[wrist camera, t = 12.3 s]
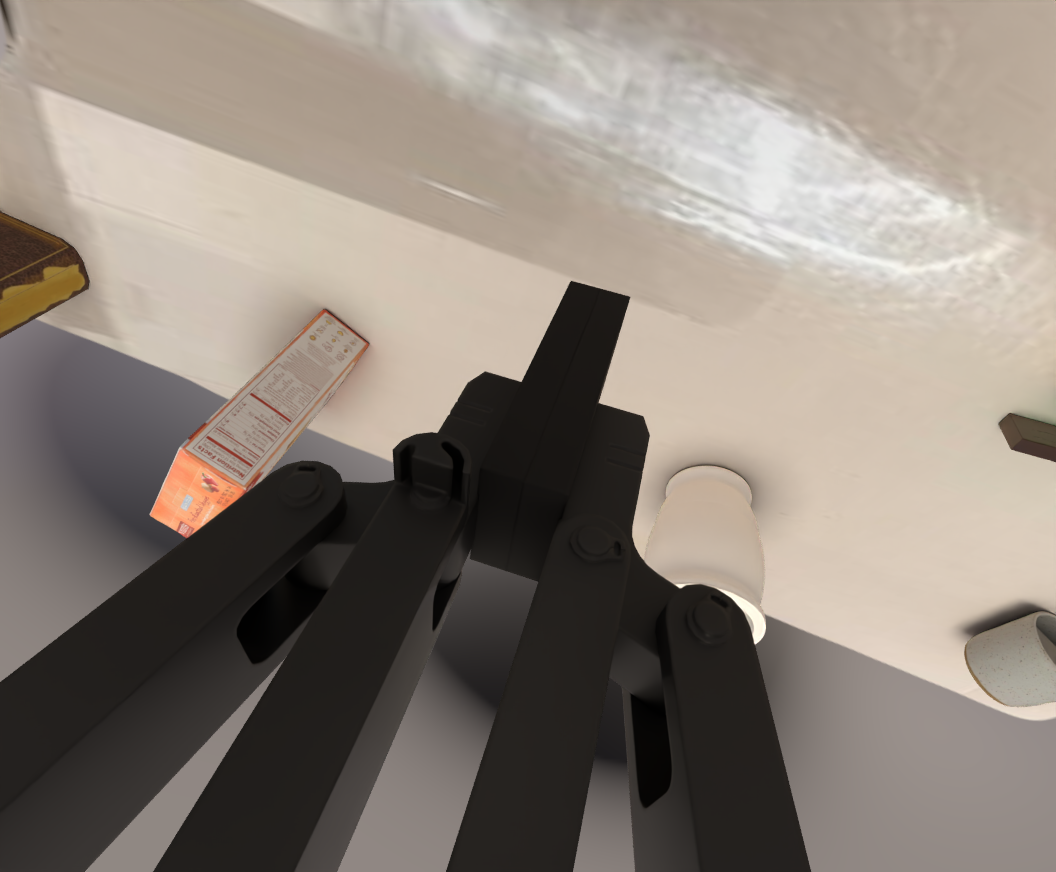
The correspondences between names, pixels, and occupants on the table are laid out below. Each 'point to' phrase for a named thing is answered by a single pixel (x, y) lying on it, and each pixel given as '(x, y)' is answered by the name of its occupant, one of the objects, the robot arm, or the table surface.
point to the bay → (1030, 436)
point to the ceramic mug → (1016, 661)
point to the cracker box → (257, 425)
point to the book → (34, 273)
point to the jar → (711, 539)
